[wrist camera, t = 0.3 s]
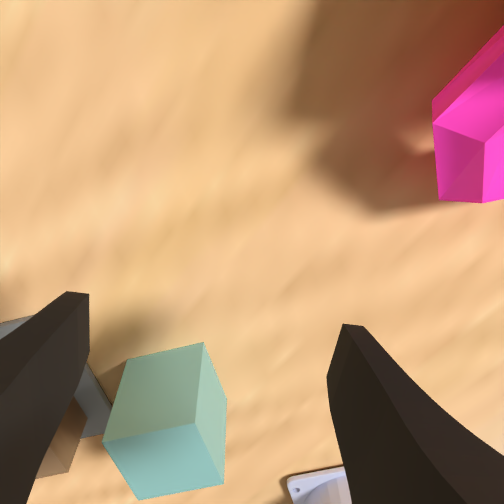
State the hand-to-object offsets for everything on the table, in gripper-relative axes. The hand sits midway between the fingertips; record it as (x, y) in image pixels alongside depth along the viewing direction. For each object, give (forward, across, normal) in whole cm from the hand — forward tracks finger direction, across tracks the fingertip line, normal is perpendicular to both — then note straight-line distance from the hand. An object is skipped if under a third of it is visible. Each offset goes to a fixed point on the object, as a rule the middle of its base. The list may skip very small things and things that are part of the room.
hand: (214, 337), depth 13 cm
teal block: (+10, +1, +11) cm, 15 cm away
